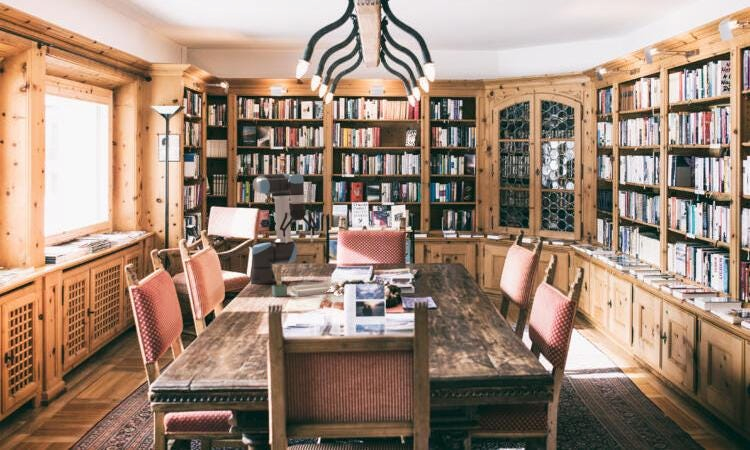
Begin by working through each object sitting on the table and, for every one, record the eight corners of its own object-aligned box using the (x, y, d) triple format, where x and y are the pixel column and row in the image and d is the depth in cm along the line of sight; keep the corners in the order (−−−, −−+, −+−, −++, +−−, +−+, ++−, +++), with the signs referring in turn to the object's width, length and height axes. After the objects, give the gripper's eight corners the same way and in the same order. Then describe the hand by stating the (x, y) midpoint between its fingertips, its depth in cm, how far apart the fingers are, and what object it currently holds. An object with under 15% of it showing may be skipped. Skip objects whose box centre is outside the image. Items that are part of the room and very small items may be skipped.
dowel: (276, 294, 369) (275, 265, 368) (281, 294, 370) (280, 264, 369) (277, 295, 366) (276, 266, 365) (282, 295, 367) (281, 265, 366)
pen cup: (272, 294, 370) (271, 285, 370) (284, 293, 372) (283, 284, 372) (275, 296, 364) (274, 287, 363) (287, 295, 366) (286, 286, 366)
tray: (290, 291, 377) (290, 287, 377) (329, 287, 385) (328, 283, 385) (298, 296, 363) (298, 291, 362) (338, 291, 371) (337, 287, 370)
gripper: (273, 204, 365) (275, 243, 367) (320, 202, 366) (322, 242, 367) (275, 203, 373) (276, 242, 374) (321, 201, 373) (322, 240, 375)
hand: (299, 242), depth 371 cm, fingers open, 13 cm apart
